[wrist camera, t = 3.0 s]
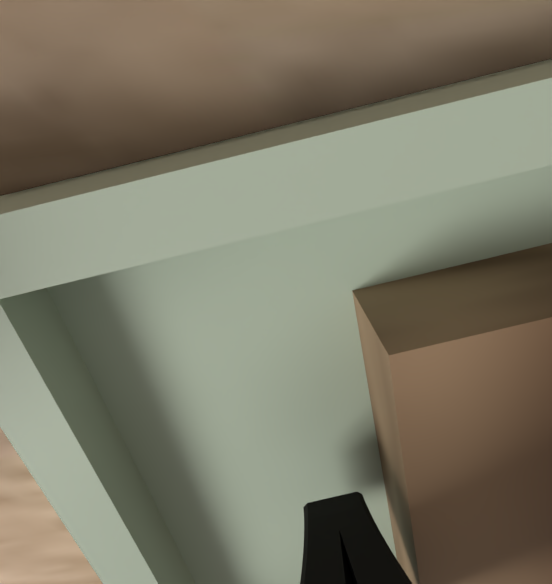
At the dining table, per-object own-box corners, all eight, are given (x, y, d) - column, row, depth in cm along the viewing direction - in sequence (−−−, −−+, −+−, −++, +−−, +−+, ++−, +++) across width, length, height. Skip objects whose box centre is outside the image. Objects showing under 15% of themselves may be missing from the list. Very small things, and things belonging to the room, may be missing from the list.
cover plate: (402, 592, 14) (434, 689, 12) (352, 290, 9) (388, 355, 7) (619, 544, 14) (693, 633, 12) (679, 212, 9) (823, 253, 7)
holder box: (215, 676, 16) (212, 772, 14) (-46, 207, 8) (-149, 251, 6) (625, 587, 16) (689, 670, 14) (741, 11, 8) (934, -18, 6)
